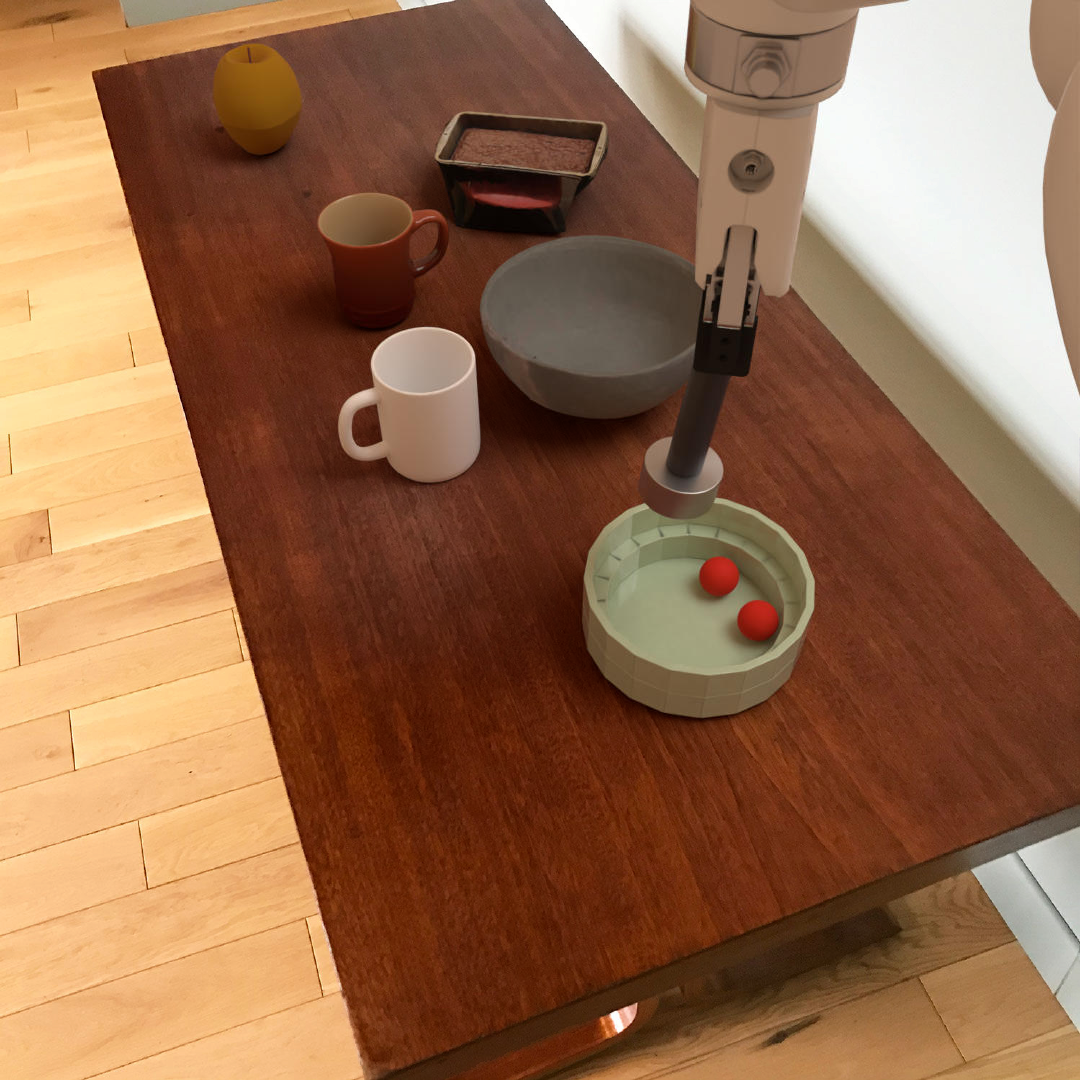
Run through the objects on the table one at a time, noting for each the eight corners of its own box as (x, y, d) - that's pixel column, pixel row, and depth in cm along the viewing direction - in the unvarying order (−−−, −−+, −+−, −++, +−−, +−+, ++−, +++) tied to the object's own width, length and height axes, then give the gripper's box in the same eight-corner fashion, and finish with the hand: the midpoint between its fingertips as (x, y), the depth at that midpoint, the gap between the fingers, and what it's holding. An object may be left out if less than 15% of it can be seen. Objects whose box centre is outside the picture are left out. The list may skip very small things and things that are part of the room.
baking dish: (476, 171, 129) (456, 91, 121) (627, 172, 123) (616, 88, 116) (438, 251, 120) (414, 170, 113) (597, 255, 115) (583, 170, 107)
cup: (497, 464, 95) (493, 373, 87) (367, 514, 91) (350, 424, 84) (455, 406, 100) (447, 315, 92) (330, 452, 96) (311, 361, 88)
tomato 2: (774, 651, 82) (781, 627, 79) (733, 646, 82) (738, 621, 80) (776, 619, 83) (782, 594, 81) (735, 613, 84) (741, 589, 82)
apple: (295, 174, 125) (276, 73, 116) (212, 167, 126) (187, 66, 117) (320, 129, 131) (303, 30, 122) (240, 123, 132) (218, 24, 123)
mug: (345, 347, 105) (328, 255, 97) (324, 293, 111) (307, 202, 103) (466, 319, 108) (460, 228, 100) (440, 268, 113) (432, 178, 105)
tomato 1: (716, 600, 86) (748, 594, 84) (692, 596, 84) (724, 590, 82) (714, 562, 87) (745, 555, 85) (689, 558, 85) (721, 550, 83)
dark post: (720, 521, 73) (795, 306, 60) (642, 519, 72) (700, 301, 59) (708, 464, 76) (777, 248, 63) (633, 461, 76) (687, 243, 62)
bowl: (752, 407, 99) (769, 318, 92) (559, 496, 93) (560, 407, 85) (624, 290, 111) (630, 201, 103) (444, 361, 104) (435, 272, 96)
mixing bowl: (797, 737, 78) (812, 690, 73) (567, 703, 79) (568, 655, 75) (802, 560, 88) (816, 509, 83) (599, 534, 90) (601, 483, 85)
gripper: (851, 135, 46) (781, 457, 59) (851, -27, 56) (792, 279, 70) (668, 120, 47) (642, 440, 60) (701, -36, 57) (672, 267, 71)
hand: (722, 351), depth 65 cm, fingers closed on dark post, 2 cm apart
